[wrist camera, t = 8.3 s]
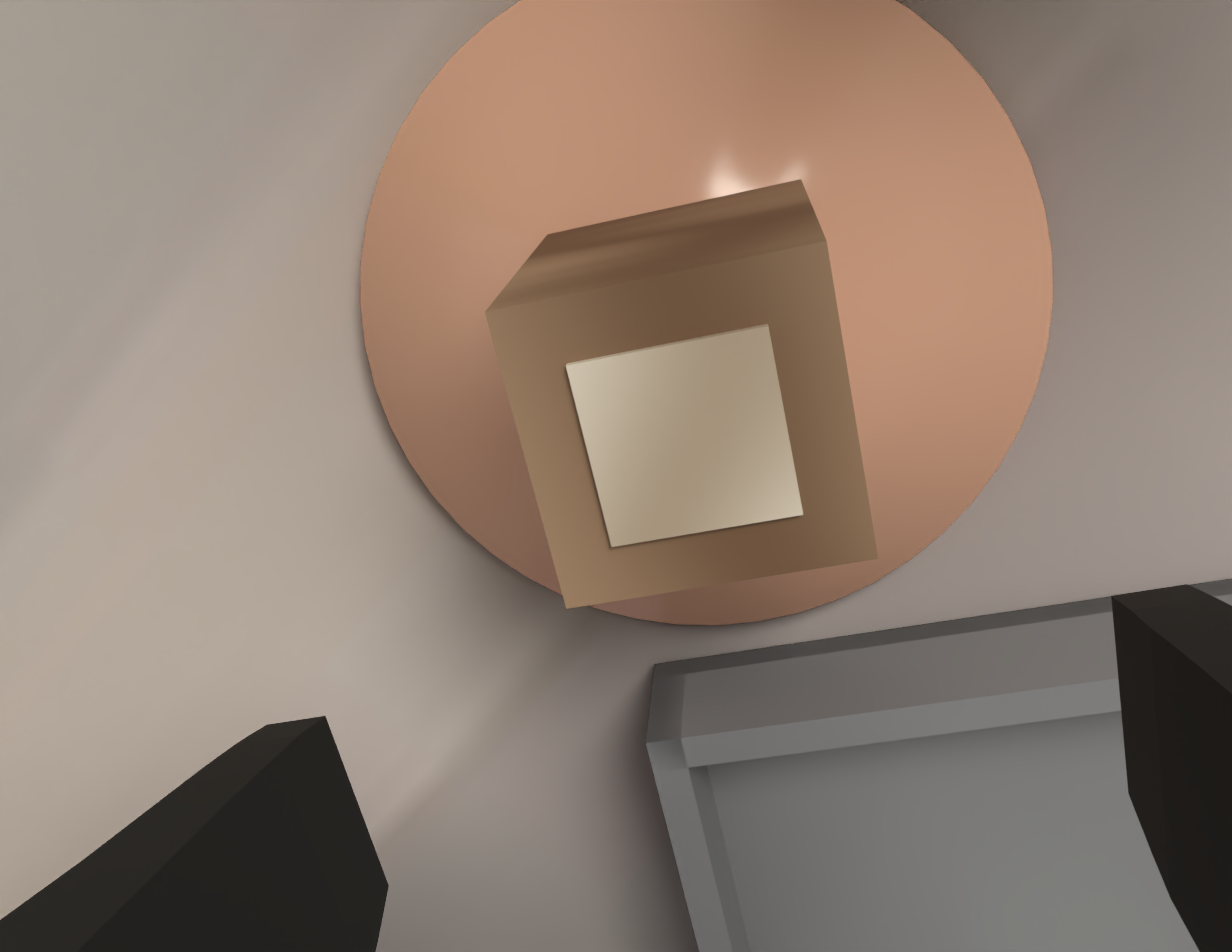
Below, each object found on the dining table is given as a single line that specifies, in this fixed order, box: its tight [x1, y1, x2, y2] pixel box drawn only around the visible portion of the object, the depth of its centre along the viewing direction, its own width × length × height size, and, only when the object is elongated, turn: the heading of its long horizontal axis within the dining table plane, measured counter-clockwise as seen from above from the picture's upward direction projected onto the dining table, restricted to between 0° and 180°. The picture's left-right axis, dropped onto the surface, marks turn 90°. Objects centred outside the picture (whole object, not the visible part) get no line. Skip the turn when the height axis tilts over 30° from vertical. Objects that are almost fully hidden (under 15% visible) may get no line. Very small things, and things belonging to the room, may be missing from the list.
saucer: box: [360, 0, 1053, 625], centre depth 19 cm, size 11×11×1 cm
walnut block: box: [485, 179, 878, 609], centre depth 16 cm, size 4×4×5 cm
